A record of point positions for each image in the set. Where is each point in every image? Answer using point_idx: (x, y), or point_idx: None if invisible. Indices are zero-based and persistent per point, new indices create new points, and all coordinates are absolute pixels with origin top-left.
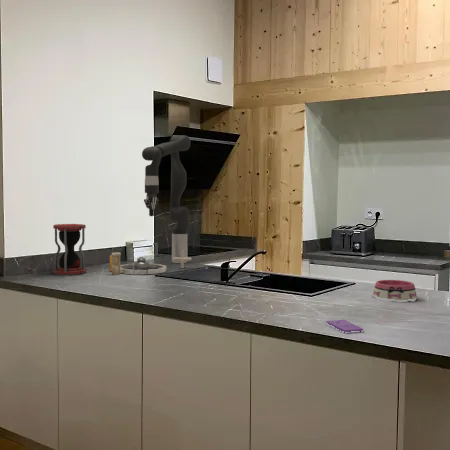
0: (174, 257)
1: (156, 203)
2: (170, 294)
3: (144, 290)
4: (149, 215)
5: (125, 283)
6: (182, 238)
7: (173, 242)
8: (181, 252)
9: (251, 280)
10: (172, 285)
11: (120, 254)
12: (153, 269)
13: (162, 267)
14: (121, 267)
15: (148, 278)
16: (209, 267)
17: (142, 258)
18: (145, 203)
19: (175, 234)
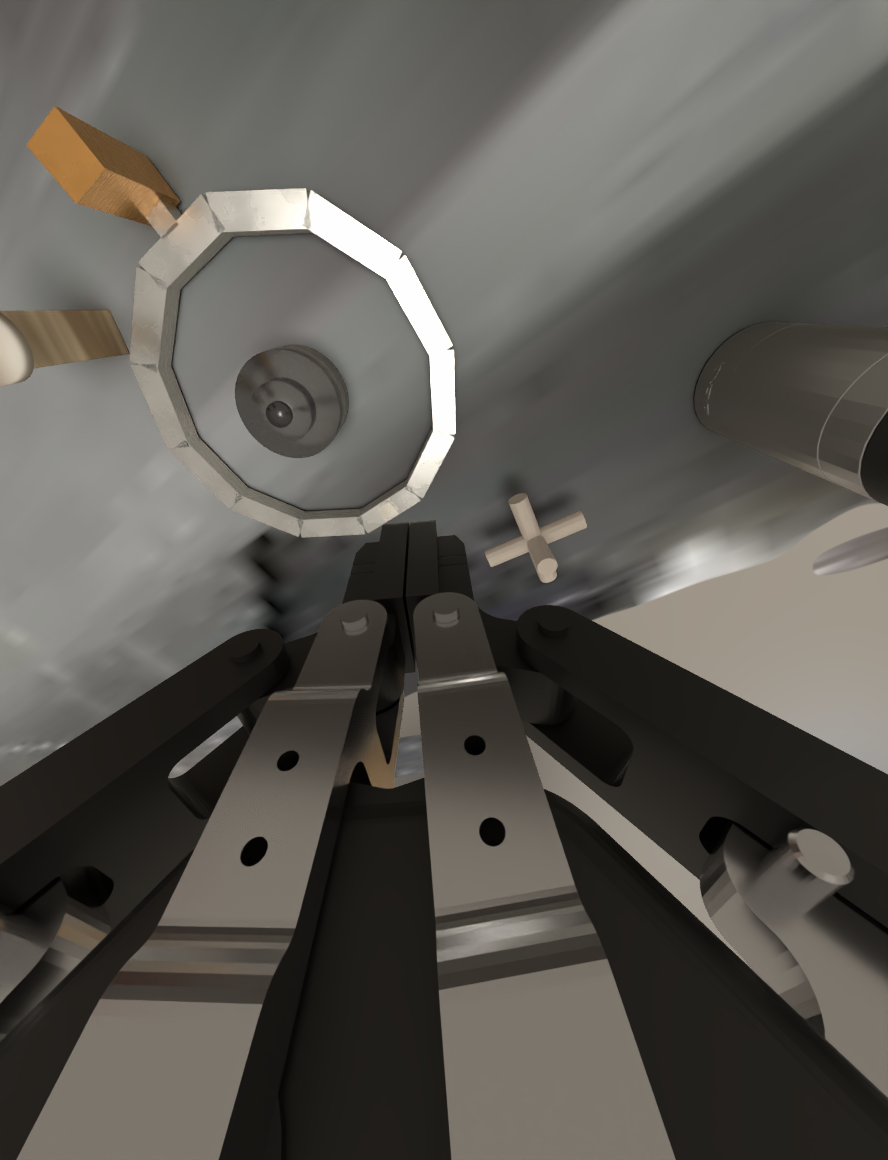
0: (518, 509)
1: (611, 804)
2: (65, 731)
3: (19, 666)
4: (384, 530)
5: (14, 552)
6: (829, 476)
7: (820, 382)
8: (534, 559)
9: (396, 769)
10: (159, 681)
11: (25, 377)
12: (277, 515)
13: (407, 481)
14: (220, 239)
15: (179, 556)
16: (592, 598)
17: (280, 426)
18: (24, 790)
19: (870, 427)
